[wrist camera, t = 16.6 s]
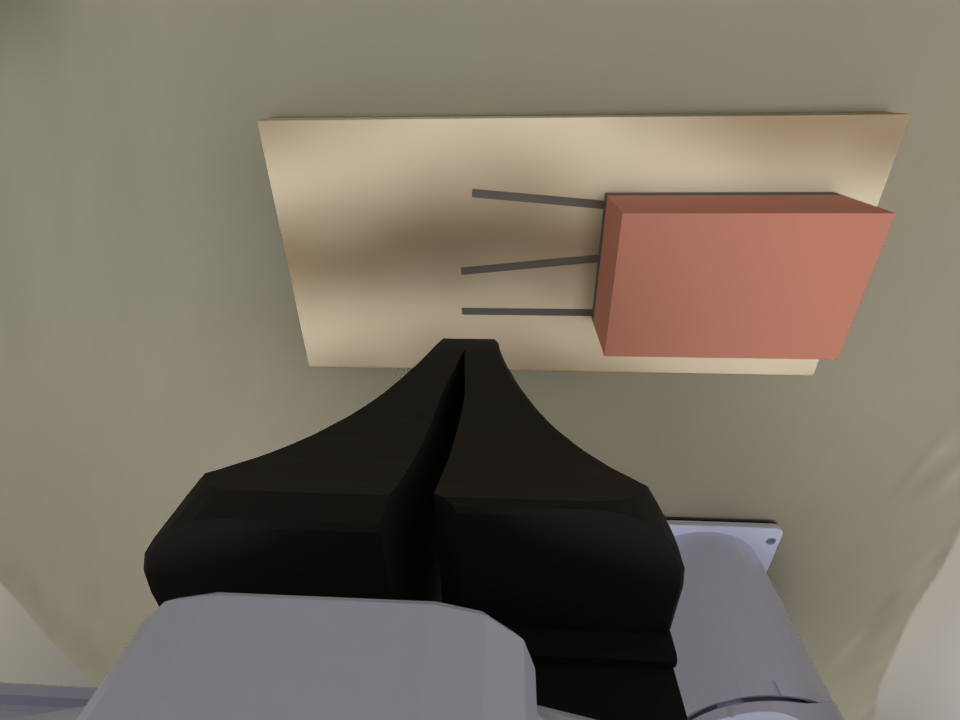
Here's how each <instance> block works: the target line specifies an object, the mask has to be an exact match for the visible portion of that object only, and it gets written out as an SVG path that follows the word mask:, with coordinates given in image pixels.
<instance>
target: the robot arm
mask: <svg viewBox="0 0 960 720" xmlns="http://www.w3.org/2000/svg"><path fill="white" fill-rule="evenodd" d="M782 535H783V532H782V530H781V528H780V527H779V525H777V524H772V523H742V522H711V521H681V520H666V519H665V517H664V515H663V513H662V511H661V509H660V507H659V506H658V504H657V502H656V500H655V498H654V497H653V495H652V493H651V491H650V490H649V488H648V487H647V486H645V485H644V484H642V483H640V482H638V481H636V480H634V479H632V478H630V477H628V476H626V475H624V474H622V473H620V472H618V471H616V470H614V469H612V468H611V467H609V466H607V465H605V464H604V463H602V462H600V461H599V460H597V459H596V458H594V457H593V456H591V455H589V454H588V453H586V452H585V451H583V450H582V449H581V448H579V447H578V446H576V445H575V444H574V443H572V442H571V441H570V440H569V439H567V438H566V437H565V436H564V435H562V434H561V433H560V432H559V431H558V430H556V429H555V428H554V427H553V426H552V425H551V424H550V423H549V422H548V421H547V420H546V419H545V418H544V417H543V416H542V415H541V414H540V412H539V411H538V410H537V409H536V408H535V407H534V405H533V404H532V403H531V402H530V400H529V399H528V398H527V396H526V395H525V394H524V392H523V391H522V390H521V388H520V387H519V385H518V384H517V382H516V381H515V379H514V377H513V376H512V374H511V372H510V371H509V369H508V367H507V365H506V363H505V361H504V359H503V356H502V354H501V351H500V348H499V343H498V342H497V341H496V340H495V339H450V338H443V339H442V340H441V341H440V342H439V343H438V344H436V345H435V346H434V347H433V348H432V350H431V351H430V352H429V353H428V354H427V355H426V356H425V357H424V358H423V359H422V360H421V361H420V362H419V363H418V364H417V365H416V366H414V367H413V368H412V369H411V370H410V371H409V372H408V373H407V374H406V375H405V376H404V377H403V378H401V379H400V380H399V381H398V382H397V383H395V384H394V385H393V386H392V387H391V388H389V389H388V390H387V391H386V392H384V393H383V394H382V395H380V396H379V397H378V398H376V399H375V400H373V401H372V402H371V403H369V404H368V405H366V406H364V407H363V408H361V409H360V410H358V411H357V412H355V413H353V414H352V415H350V416H348V417H347V418H345V419H343V420H341V421H339V422H337V423H335V424H333V425H331V426H330V427H328V428H326V429H324V430H322V431H320V432H318V433H316V434H314V435H312V436H310V437H308V438H305V439H303V440H301V441H298V442H296V443H294V444H291V445H289V446H286V447H284V448H281V449H279V450H276V451H274V452H271V453H268V454H266V455H263V456H260V457H257V458H254V459H251V460H248V461H244V462H241V463H238V464H235V465H232V466H229V467H225V468H222V469H219V470H216V471H212V472H208V473H205V474H204V475H203V476H202V478H201V479H200V480H199V481H198V482H197V484H196V485H195V486H194V487H193V489H192V490H191V491H190V492H189V494H188V495H187V496H186V498H185V499H184V500H183V501H182V503H181V504H180V505H179V507H178V508H177V509H176V510H175V512H174V513H173V514H172V516H171V517H170V518H169V519H168V521H167V522H166V523H165V525H164V526H163V527H162V529H161V530H160V531H159V532H158V534H157V535H156V536H155V538H154V539H153V541H152V542H151V544H150V546H149V547H148V549H147V551H146V552H145V558H144V572H145V575H146V578H147V581H148V584H149V587H150V590H151V592H152V594H153V596H154V598H155V599H156V601H157V603H158V605H159V607H158V608H157V609H156V610H155V611H154V612H153V613H152V614H151V615H150V616H149V617H148V618H146V619H145V620H144V621H143V622H142V624H141V625H140V627H139V628H138V629H137V631H136V632H135V634H134V635H133V637H132V638H131V640H130V641H129V643H128V644H127V646H126V647H125V649H124V650H123V652H122V653H121V655H120V656H119V657H118V659H117V660H116V662H115V663H114V665H113V666H112V668H111V669H110V671H109V672H108V674H107V675H106V677H105V678H104V680H103V681H102V683H101V684H100V686H99V687H98V688H92V687H91V688H90V687H73V686H55V685H54V686H53V685H36V684H18V683H17V684H16V683H0V720H845V719H844V718H843V716H842V714H841V712H840V710H839V709H838V707H837V705H836V703H835V702H833V700H832V698H831V696H830V694H829V693H828V691H827V689H826V687H825V685H824V683H823V681H822V679H821V677H820V675H819V673H818V671H817V669H816V667H815V666H814V664H813V662H812V660H811V658H810V656H809V654H808V652H807V650H806V648H805V646H804V644H803V642H802V640H801V639H800V637H799V635H798V633H797V631H796V629H795V627H794V625H793V623H792V621H791V619H790V617H789V615H788V613H787V611H786V610H785V608H784V606H783V604H782V602H781V600H780V598H779V596H778V594H777V592H776V590H775V588H774V586H773V584H772V583H771V581H770V579H769V577H768V575H767V570H768V568H769V566H770V563H771V561H772V559H773V556H774V554H775V551H776V549H777V547H778V544H779V542H780V540H781V537H782Z"/></svg>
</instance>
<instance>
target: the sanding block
mask: <svg viewBox="0 0 960 720" xmlns="http://www.w3.org/2000/svg"><path fill="white" fill-rule="evenodd" d="M895 214H896V213H893V212H890V211H887V210H885V209H882V208H879V207H876V206H873V205H870V204H867V203H864V202H862V201H859V200H856V199H853V198H850V197H847V196H844V195H842V194H839V193H836V192H626V193H605V199H604V209H603V218H602V227H601V236H600V245H599V255H598V264H597V273H596V282H595V291H594V300H593V310H592V321H593V324H594V327H595V330H596V333H597V336H598V339H599V342H600V345H601V348H602V351H603V354H604V356H624V357H691V358H757V359H823V360H838V357H839V355H840V352H841V350H842V347H843V345H844V342H845V339H846V337H847V334H848V332H849V329H850V327H851V324H852V322H853V319H854V317H855V314H856V312H857V309H858V307H859V304H860V302H861V299H862V297H863V294H864V292H865V289H866V287H867V284H868V282H869V279H870V277H871V274H872V272H873V269H874V267H875V264H876V262H877V259H878V257H879V254H880V252H881V249H882V247H883V244H884V242H885V239H886V237H887V234H888V232H889V229H890V226H891V224H892V221H893V219H894V216H895Z"/></svg>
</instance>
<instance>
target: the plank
mask: <svg viewBox="0 0 960 720" xmlns="http://www.w3.org/2000/svg"><path fill="white" fill-rule="evenodd" d="M911 115H912V114H902V113H891V112H855V113H754V114H652V115H550V116H448V117H347V118H270V119H264V120H258V121H257V123H258V127H259V132H260V137H261V142H262V146H263V151H264V156H265V160H266V165H267V170H268V174H269V179H270V184H271V189H272V193H273V198H274V203H275V207H276V212H277V217H278V222H279V226H280V231H281V236H282V240H283V245H284V250H285V254H286V259H287V264H288V269H289V273H290V278H291V283H292V287H293V292H294V297H295V301H296V306H297V311H298V316H299V320H300V325H301V330H302V334H303V339H304V344H305V348H306V353H307V358H308V363H309V366H322V367H379V368H413V367H414V366H416V365H417V364H418V363H419V362H420V361H421V360H422V359H423V358H424V357H425V356H426V355H427V354H428V353H429V352H430V351H431V350H432V348H433V347H434V346H435V345H436V344H438V343H439V342H440V341H441V340H442V339H443V338H450V339H495V340H496V341H497V342H498V343H499V348H500V351H501V354H502V356H503V359H504V361H505V363H506V365H507V367H508V369H509V370H551V371H608V372H665V373H723V374H780V375H813V374H814V372H815V369H816V366H817V364H818V361H819V359H757V358H691V357H624V356H604V354H603V351H602V348H601V345H600V342H599V339H598V336H597V333H596V330H595V327H594V324H593V321H592V310H593V300H594V291H595V282H596V273H597V264H598V255H599V245H600V236H601V227H602V218H603V209H604V199H605V193H626V192H836V193H839V194H842V195H844V196H847V197H850V198H853V199H856V200H859V201H862V202H864V203H867V204H870V205H873V206H876V207H877V205H878V202H879V200H880V197H881V194H882V192H883V189H884V186H885V184H886V181H887V179H888V176H889V173H890V171H891V168H892V165H893V163H894V160H895V157H896V155H897V152H898V149H899V147H900V144H901V142H902V139H903V136H904V134H905V131H906V128H907V126H908V123H909V120H910V118H911Z"/></svg>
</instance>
